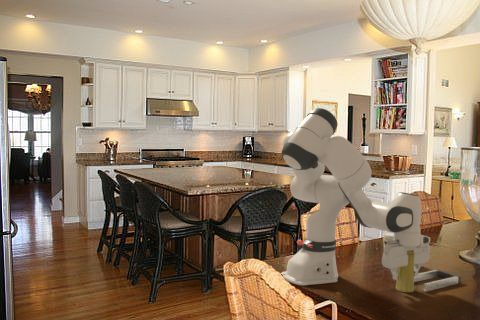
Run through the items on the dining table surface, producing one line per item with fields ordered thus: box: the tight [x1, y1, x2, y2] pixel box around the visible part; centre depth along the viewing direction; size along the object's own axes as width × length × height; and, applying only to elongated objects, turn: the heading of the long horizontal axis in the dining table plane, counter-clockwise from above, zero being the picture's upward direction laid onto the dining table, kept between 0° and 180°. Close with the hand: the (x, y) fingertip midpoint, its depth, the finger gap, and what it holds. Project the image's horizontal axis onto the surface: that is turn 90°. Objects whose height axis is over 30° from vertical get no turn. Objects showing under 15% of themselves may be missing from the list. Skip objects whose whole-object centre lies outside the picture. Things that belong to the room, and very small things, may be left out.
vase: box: [395, 251, 415, 293], centre depth 151 cm, size 6×6×14 cm
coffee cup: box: [382, 231, 394, 249], centre depth 185 cm, size 9×9×12 cm
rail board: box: [414, 268, 462, 292], centre depth 158 cm, size 20×10×2 cm, turn 119°
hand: (405, 277), depth 151 cm, fingers open, 8 cm apart
